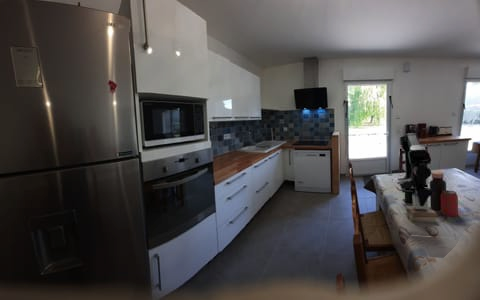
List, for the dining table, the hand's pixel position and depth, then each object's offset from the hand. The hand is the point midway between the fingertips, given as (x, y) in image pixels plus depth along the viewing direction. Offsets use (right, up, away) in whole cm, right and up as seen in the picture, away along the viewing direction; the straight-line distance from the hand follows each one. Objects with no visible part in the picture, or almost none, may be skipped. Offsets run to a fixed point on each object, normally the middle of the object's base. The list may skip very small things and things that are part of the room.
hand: (420, 204), depth 120 cm
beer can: (+16, -6, +2) cm, 17 cm away
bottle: (+17, -5, +10) cm, 21 cm away
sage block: (0, -2, 0) cm, 2 cm away
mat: (+1, -7, +1) cm, 8 cm away
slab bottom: (+1, -7, +1) cm, 7 cm away
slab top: (0, -5, 0) cm, 5 cm away
